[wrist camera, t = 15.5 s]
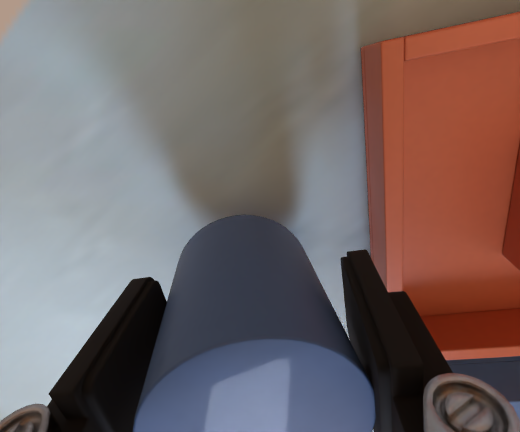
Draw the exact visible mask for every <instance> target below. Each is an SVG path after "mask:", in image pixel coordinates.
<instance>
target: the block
mask: <svg viewBox="0 0 520 432" xmlns="http://www.w3.org/2000/svg"><path fill="white" fill-rule="evenodd" d="M502 254H503V256H504V257H505V258H506V259H507V260H508V261H509V262H510V263H512V264H513V265H514V266H515V267H516V268H517V269H518V270H520V147H519V153H518V160H517V166H516V172H515V178H514V185H513V191H512V197H511V203H510V209H509V216H508V222H507V228H506V234H505V240H504V247H503V253H502Z"/></svg>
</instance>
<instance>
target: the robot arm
mask: <svg viewBox="0 0 520 432" xmlns="http://www.w3.org/2000/svg"><path fill="white" fill-rule="evenodd" d="M341 268H342V278H343V288H344V299H345V309H346V319H347V328H348V334H349V338H350V342H351V344H352V346H353V348H354V350H355V352H356V354H357V356H358V358H359V360H360V362H361V364H362V366H363V368H364V370H365V372H366V374H367V376H368V378H369V380H370V382H371V384H372V387H373V389H374V397H375V412H376V419H375V424H374V427H373V429H374V432H520V420H519V418H518V416H517V414H516V411H515V409H514V407H513V406H512V405H511V404H510V403H509V401H508V400H507V399H506V398H505V397H504V395H502V394H501V393H500V392H499V391H497V390H496V389H495V388H493V387H492V386H491V385H489V384H487V383H485V382H483V381H481V380H479V379H477V378H475V377H471V376H468V375H465V374H457V373H453V372H452V370H451V368H450V367H449V365H448V363H447V361H446V360H445V358H444V356H443V355H442V353H441V351H440V349H439V348H438V346H437V344H436V343H435V341H434V339H433V337H432V336H431V334H430V332H429V330H428V329H427V327H426V325H425V324H424V322H423V320H422V318H421V317H420V315H419V313H418V312H417V310H416V308H415V306H414V305H413V303H412V301H411V300H410V298H409V296H408V295H407V293H406V292H404V291H397V292H388V291H387V289H386V287H385V285H384V283H383V281H382V279H381V277H380V275H379V273H378V271H377V269H376V267H375V265H374V263H373V261H372V259H371V257H370V255H369V253H368V251H367V250H358V251H350V252H347V257H341ZM166 304H167V302H166V299H165V296H164V294H163V291H162V289H161V286H160V284H159V282H158V281H154V279H153V278H151V277H147V278H139V279H133V280H132V281H131V282H130V283H129V284H128V286H127V287H126V288H125V290H124V291H123V293H122V294H121V295H120V297H119V298H118V299H117V301H116V302H115V303H114V305H113V306H112V308H111V309H110V310H109V312H108V313H107V314H106V316H105V317H104V319H103V320H102V321H101V323H100V324H99V325H98V327H97V328H96V330H95V331H94V332H93V334H92V335H91V336H90V338H89V339H88V340H87V342H86V343H85V345H84V346H83V347H82V349H81V350H80V351H79V353H78V354H77V356H76V357H75V358H74V360H73V361H72V362H71V364H70V365H69V367H68V368H67V369H66V371H65V372H64V373H63V375H62V376H61V377H60V379H59V380H58V382H57V383H56V384H55V386H54V387H53V388H52V390H51V391H50V393H49V395H50V397H51V398H52V400H51V402H50V403H49V405H48V406H47V407H46V406H45V405H43V404H33V405H28V406H25V407H23V408H21V409H19V410H17V411H15V412H13V413H12V414H10V415H9V416H7V417H5V418H4V419H3V420H2V421H0V432H133V425H134V418H135V414H136V410H137V407H138V403H139V400H140V396H141V393H142V389H143V386H144V382H145V378H146V375H147V371H148V368H149V364H150V361H151V357H152V354H153V350H154V347H155V343H156V339H157V336H158V332H159V329H160V325H161V322H162V318H163V315H164V311H165V308H166Z"/></svg>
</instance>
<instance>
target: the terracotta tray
mask: <svg viewBox="0 0 520 432" xmlns="http://www.w3.org/2000/svg"><path fill="white" fill-rule="evenodd" d="M361 60H362V81H363V102H364V123H365V144H366V164H367V185H368V206H369V227H370V248H371V259H372V261H373V263H374V265H375V267H376V269H377V271H378V273H379V275H380V277H381V279H382V281H383V283H384V285H385V287H386V289H387V291H388V292H397V291H404V292H406V293H407V295H408V296H409V298H410V300H411V301H412V303H413V305H414V306H415V308H416V310H417V312H418V313H419V315H420V317H421V318H422V320H423V322H424V324H425V325H426V327H427V329H428V330H429V332H430V334H431V336H432V337H433V339H434V341H435V343H436V344H437V346H438V348H439V349H440V351H441V353H442V355H443V356H444V358H445V360H461V359H478V358H495V357H511V356H520V270H518V269H517V268H516V267H515V266H514V265H513V264H512V263H510V262H509V261H508V260H507V259H506V258H505V257H504V256H503V254H502V253H503V247H504V240H505V234H506V228H507V222H508V216H509V209H510V203H511V197H512V191H513V185H514V178H515V172H516V166H517V160H518V153H519V147H520V12H515V13H511V14H506V15H501V16H497V17H492V18H487V19H483V20H478V21H473V22H469V23H464V24H460V25H455V26H450V27H446V28H441V29H436V30H432V31H427V32H422V33H418V34H413V35H408V36H404V37H399V38H394V39H390V40H385V41H381V42H377V43H374V44H370V45H367V46H363V47H361Z"/></svg>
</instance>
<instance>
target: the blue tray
mask: <svg viewBox="0 0 520 432" xmlns="http://www.w3.org/2000/svg"><path fill="white" fill-rule="evenodd" d="M446 361H447V363H448V365H449V367H450V368H451V370H452V372H453V373H457V374H465V375H468V376H471V377H475V378H477V379H479V380H481V381H483V382H485V383H487V384H489V385H491V386H492V387H493V388H495V389H496V390H497V391H499V392H500V393H501V394H502V395H504V397H505V398H506V399H507V400H508V401H509V403H510V404H511V405H512V406H513V407H514V409H515V411H516V414H517V416H518V418H519V420H520V356H511V357H495V358H478V359H461V360H446Z"/></svg>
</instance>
